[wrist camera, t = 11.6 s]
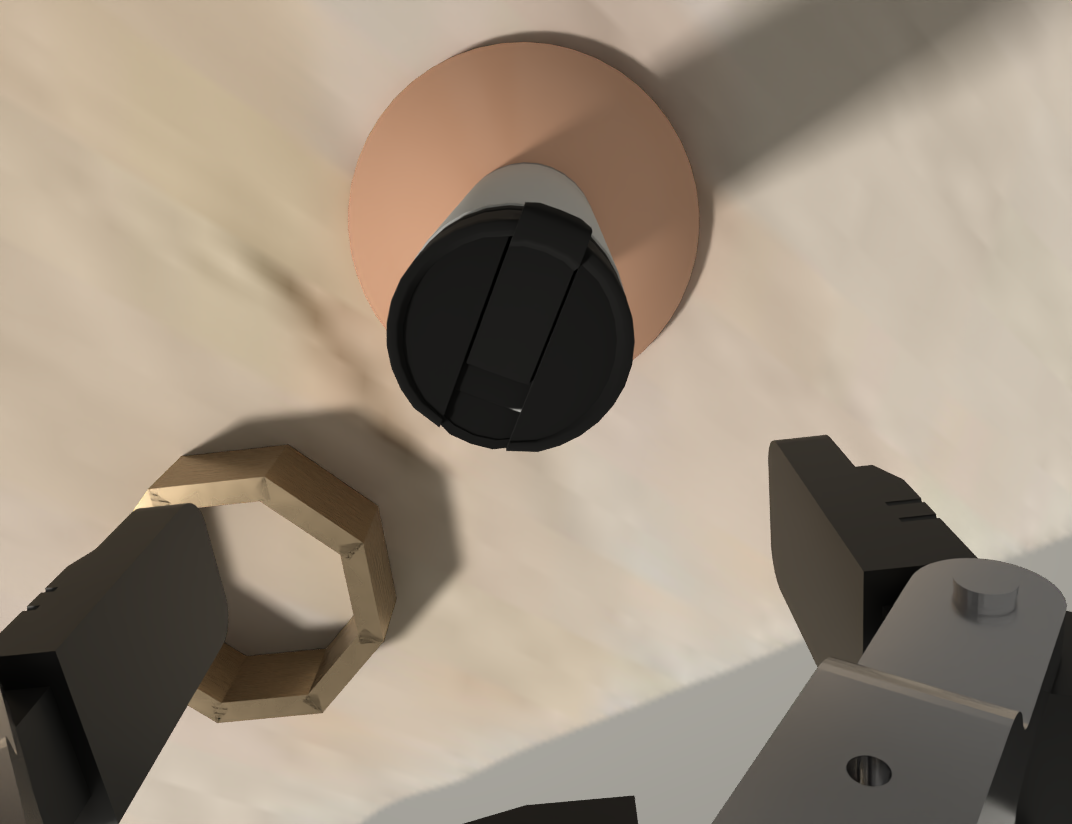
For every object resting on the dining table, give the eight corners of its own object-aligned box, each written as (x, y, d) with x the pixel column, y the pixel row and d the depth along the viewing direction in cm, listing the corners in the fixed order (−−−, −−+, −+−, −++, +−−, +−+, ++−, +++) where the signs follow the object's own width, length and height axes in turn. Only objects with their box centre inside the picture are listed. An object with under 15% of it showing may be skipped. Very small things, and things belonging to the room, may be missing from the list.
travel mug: (619, 184, 39) (687, 262, 20) (565, 319, 41) (581, 503, 22) (487, 132, 38) (430, 162, 19) (439, 272, 40) (346, 422, 22)
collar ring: (106, 464, 45) (66, 497, 41) (364, 436, 44) (347, 467, 40) (174, 681, 49) (143, 730, 45) (408, 659, 48) (397, 706, 45)
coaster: (320, 67, 38) (316, 67, 37) (685, 20, 37) (688, 18, 37) (385, 409, 44) (382, 414, 43) (705, 373, 43) (708, 378, 42)
